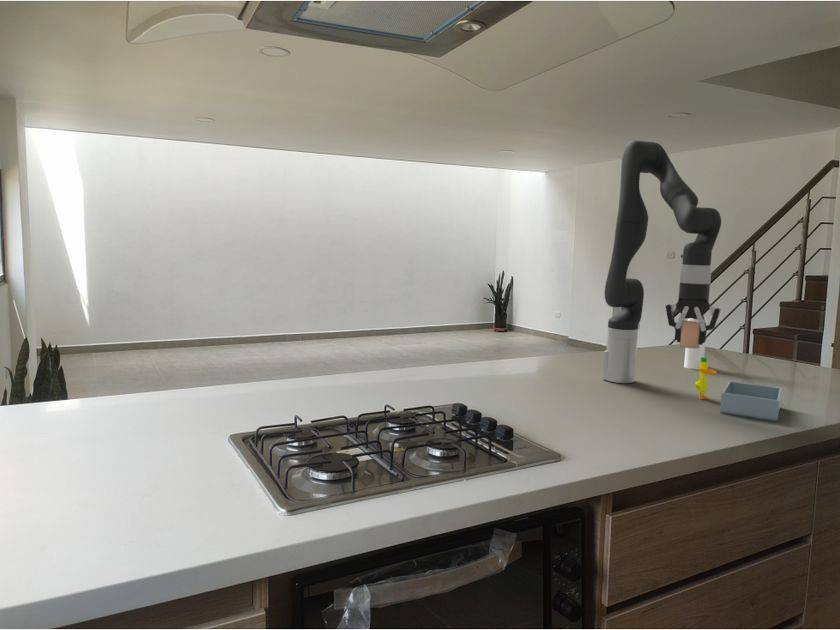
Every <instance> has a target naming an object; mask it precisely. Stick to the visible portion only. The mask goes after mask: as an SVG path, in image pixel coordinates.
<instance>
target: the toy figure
mask: <svg viewBox="0 0 840 630" xmlns="http://www.w3.org/2000/svg"><path fill="white" fill-rule="evenodd" d="M707 359H708V357H705V356H704V357H701V362H700V367H699V369H698V370H697V371H698V372H699V373H698V375H699V380H698V381H694V382H695V390H696V391H697V393H699V396H698V399H700V400H708V399H709V398H708V396H706V395H705V393H706V392H707V391H708V388H709V384H708V382H707V381H706V379H707V375H709V376H715V375H716V374H717V371H716V370H713V369H711V368H709V367H708V366H709V361H708V360H707Z"/></svg>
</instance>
